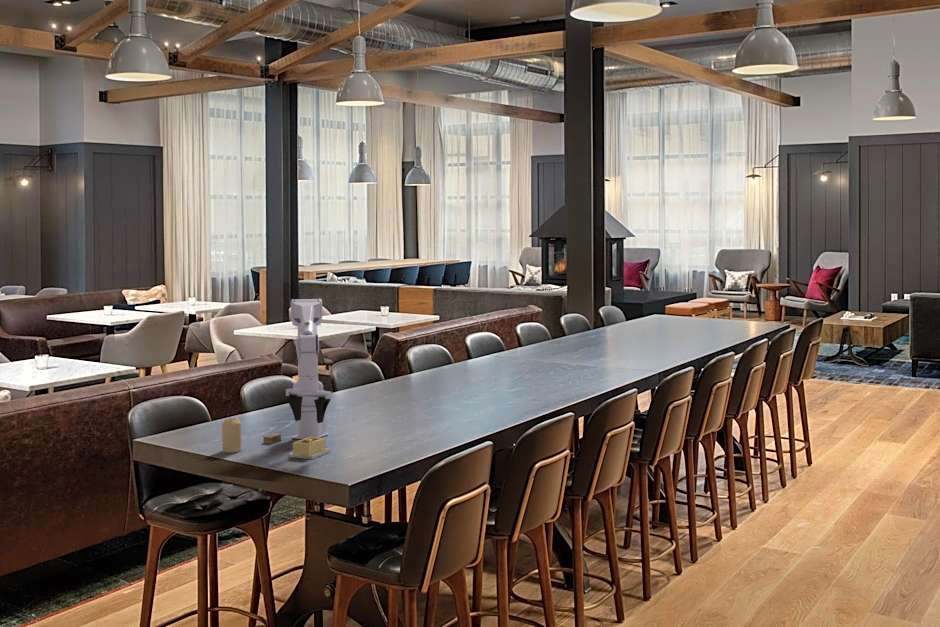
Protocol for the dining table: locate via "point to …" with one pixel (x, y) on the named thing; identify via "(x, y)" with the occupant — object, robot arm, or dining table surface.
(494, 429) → the dining table surface
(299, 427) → the robot arm
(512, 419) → the dining table surface
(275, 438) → the tan rectangular block
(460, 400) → the dining table surface
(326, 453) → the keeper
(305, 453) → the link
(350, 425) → the dining table surface
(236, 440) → the candle
